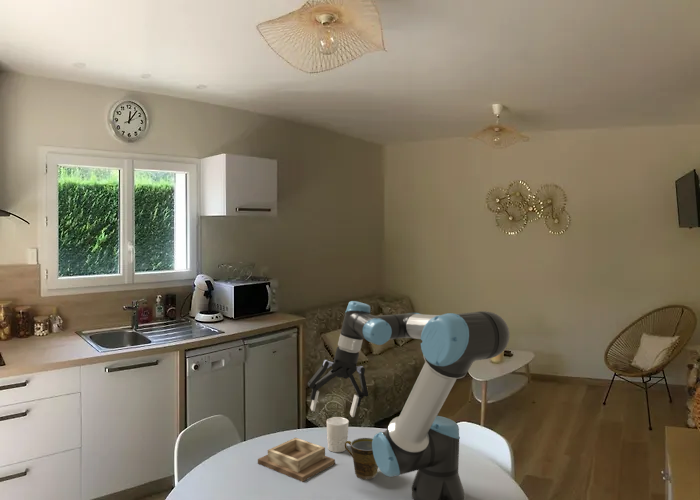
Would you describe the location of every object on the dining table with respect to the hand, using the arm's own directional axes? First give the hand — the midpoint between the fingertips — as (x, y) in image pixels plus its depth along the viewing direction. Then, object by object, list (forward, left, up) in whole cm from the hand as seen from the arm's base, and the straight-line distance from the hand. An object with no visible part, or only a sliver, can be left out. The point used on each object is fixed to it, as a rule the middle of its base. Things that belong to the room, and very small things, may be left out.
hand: (332, 412), depth 167 cm
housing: (+12, +4, -19) cm, 23 cm away
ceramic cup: (-9, -4, -19) cm, 22 cm away
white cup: (+9, -14, -19) cm, 26 cm away
